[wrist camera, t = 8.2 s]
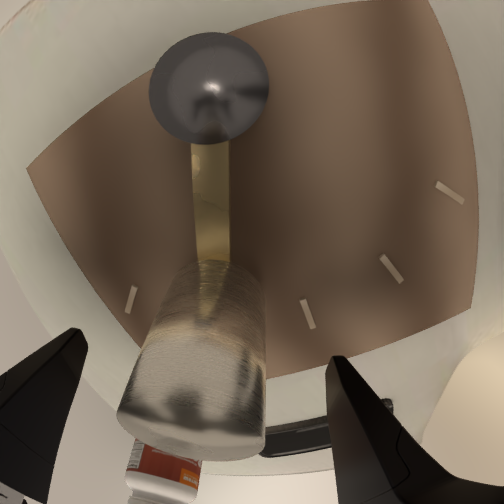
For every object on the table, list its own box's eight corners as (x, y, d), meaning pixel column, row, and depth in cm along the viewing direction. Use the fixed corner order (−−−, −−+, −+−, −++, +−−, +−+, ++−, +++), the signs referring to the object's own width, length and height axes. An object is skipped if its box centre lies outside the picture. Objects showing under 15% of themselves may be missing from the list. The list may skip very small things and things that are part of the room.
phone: (392, 429, 23) (264, 458, 26) (389, 421, 24) (264, 450, 27) (393, 401, 19) (236, 437, 22) (390, 391, 20) (236, 427, 23)
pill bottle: (221, 419, 22) (209, 528, 12) (187, 433, 24) (172, 522, 15) (162, 392, 20) (132, 510, 10) (135, 409, 22) (108, 503, 13)
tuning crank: (161, 50, 7) (15, -2, 1) (275, 43, 7) (299, -78, 1) (185, 337, 14) (153, 461, 8) (262, 342, 14) (259, 474, 8)
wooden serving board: (412, 7, 7) (429, -2, 5) (460, 294, 14) (472, 309, 13) (43, 161, 11) (23, 169, 10) (186, 375, 18) (181, 394, 17)
